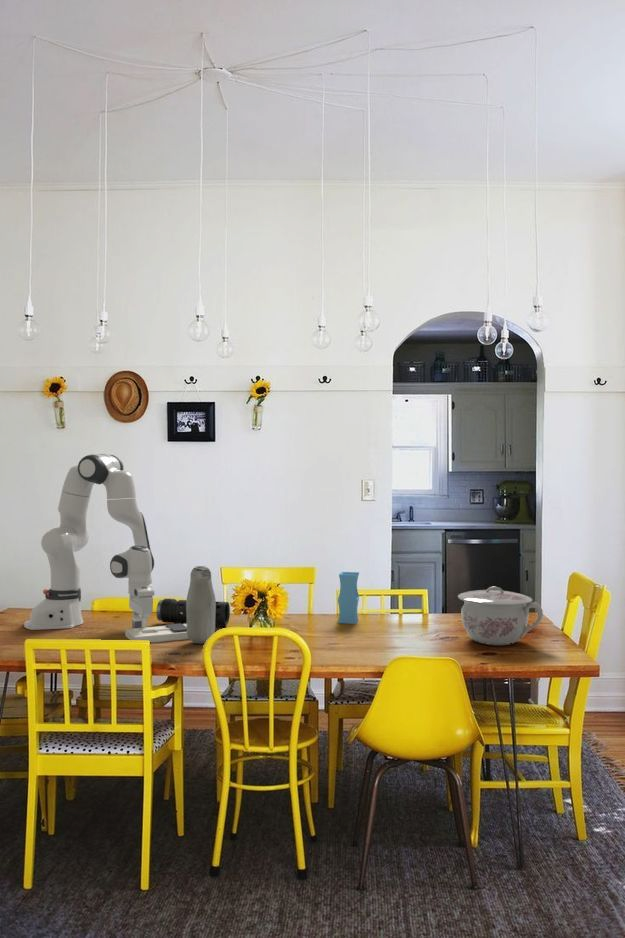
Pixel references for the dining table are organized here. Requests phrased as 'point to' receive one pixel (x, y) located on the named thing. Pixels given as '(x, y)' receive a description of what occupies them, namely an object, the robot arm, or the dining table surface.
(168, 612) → the black camera lens
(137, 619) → the charger plug
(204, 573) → the grey bottle
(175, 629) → the outlet board
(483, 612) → the chamber pot
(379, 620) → the dining table surface
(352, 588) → the vase
